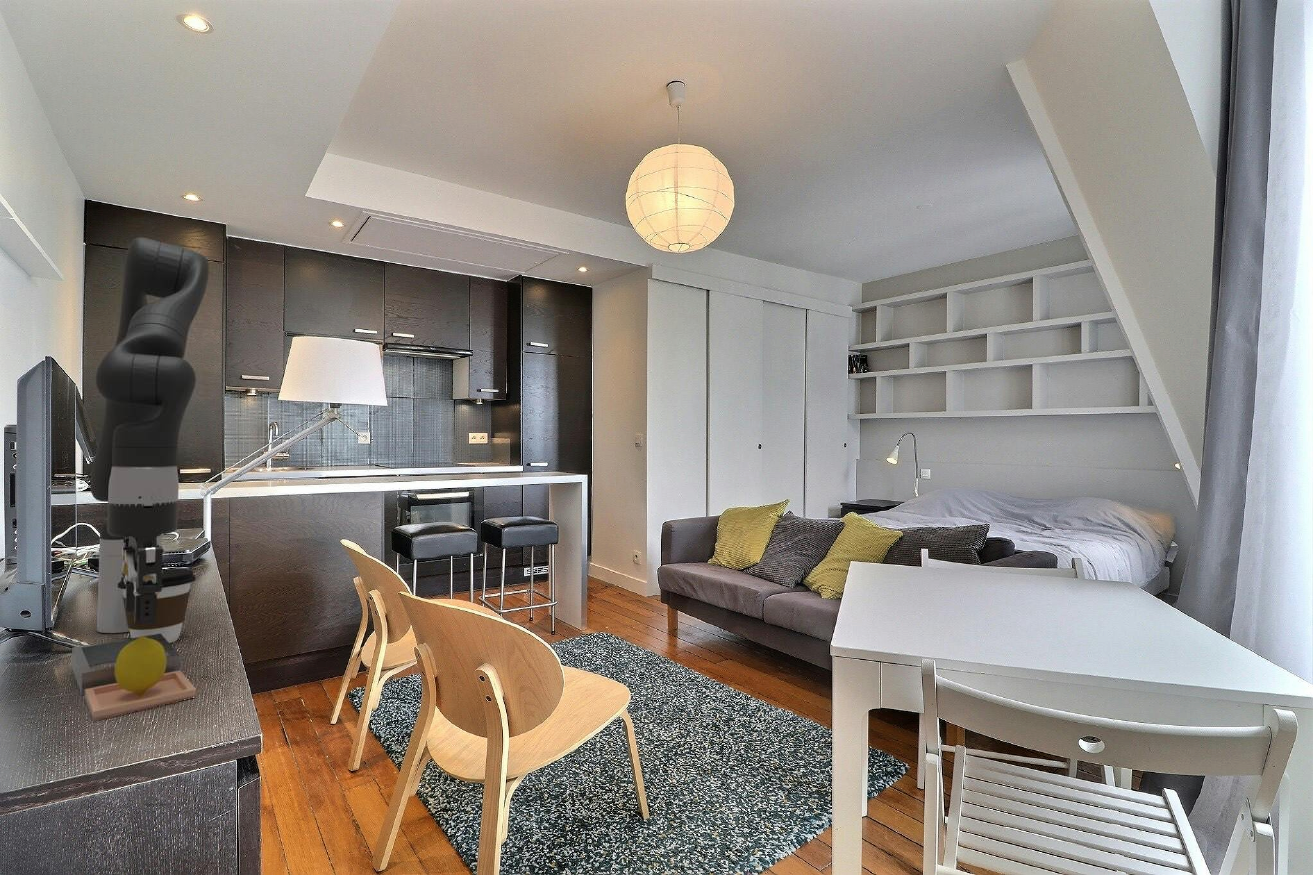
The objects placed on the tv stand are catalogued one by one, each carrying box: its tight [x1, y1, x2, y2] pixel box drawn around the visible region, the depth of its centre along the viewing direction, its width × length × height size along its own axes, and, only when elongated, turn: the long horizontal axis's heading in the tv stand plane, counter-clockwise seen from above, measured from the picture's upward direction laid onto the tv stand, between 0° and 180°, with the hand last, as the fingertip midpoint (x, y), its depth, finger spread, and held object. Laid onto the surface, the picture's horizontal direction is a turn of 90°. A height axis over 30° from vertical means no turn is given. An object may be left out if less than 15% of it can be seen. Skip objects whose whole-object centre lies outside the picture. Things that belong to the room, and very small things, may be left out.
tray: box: [84, 670, 197, 722], centre depth 86 cm, size 11×11×1 cm
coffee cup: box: [118, 568, 197, 644], centre depth 112 cm, size 11×11×12 cm
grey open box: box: [71, 633, 181, 696], centre depth 97 cm, size 16×11×3 cm
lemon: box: [114, 636, 167, 695], centre depth 87 cm, size 6×6×8 cm
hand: (140, 616), depth 87 cm, fingers open, 8 cm apart
